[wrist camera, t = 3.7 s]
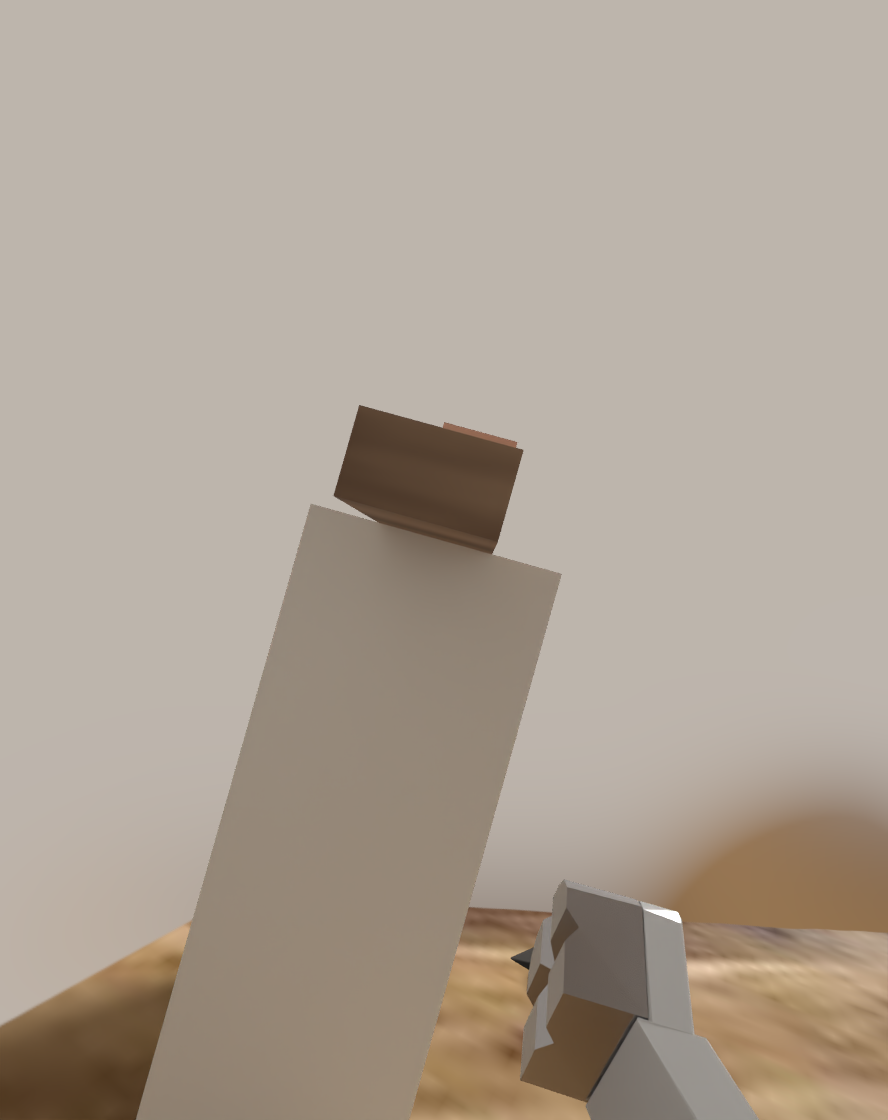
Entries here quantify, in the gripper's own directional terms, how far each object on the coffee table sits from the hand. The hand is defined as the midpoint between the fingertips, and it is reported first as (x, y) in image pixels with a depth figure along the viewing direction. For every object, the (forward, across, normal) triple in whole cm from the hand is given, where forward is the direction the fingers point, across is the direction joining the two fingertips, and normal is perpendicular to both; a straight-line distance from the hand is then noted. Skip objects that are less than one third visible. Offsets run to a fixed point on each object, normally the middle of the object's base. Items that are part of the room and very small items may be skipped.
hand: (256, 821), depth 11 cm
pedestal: (+14, 0, -33) cm, 36 cm away
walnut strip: (+23, 0, -8) cm, 24 cm away
